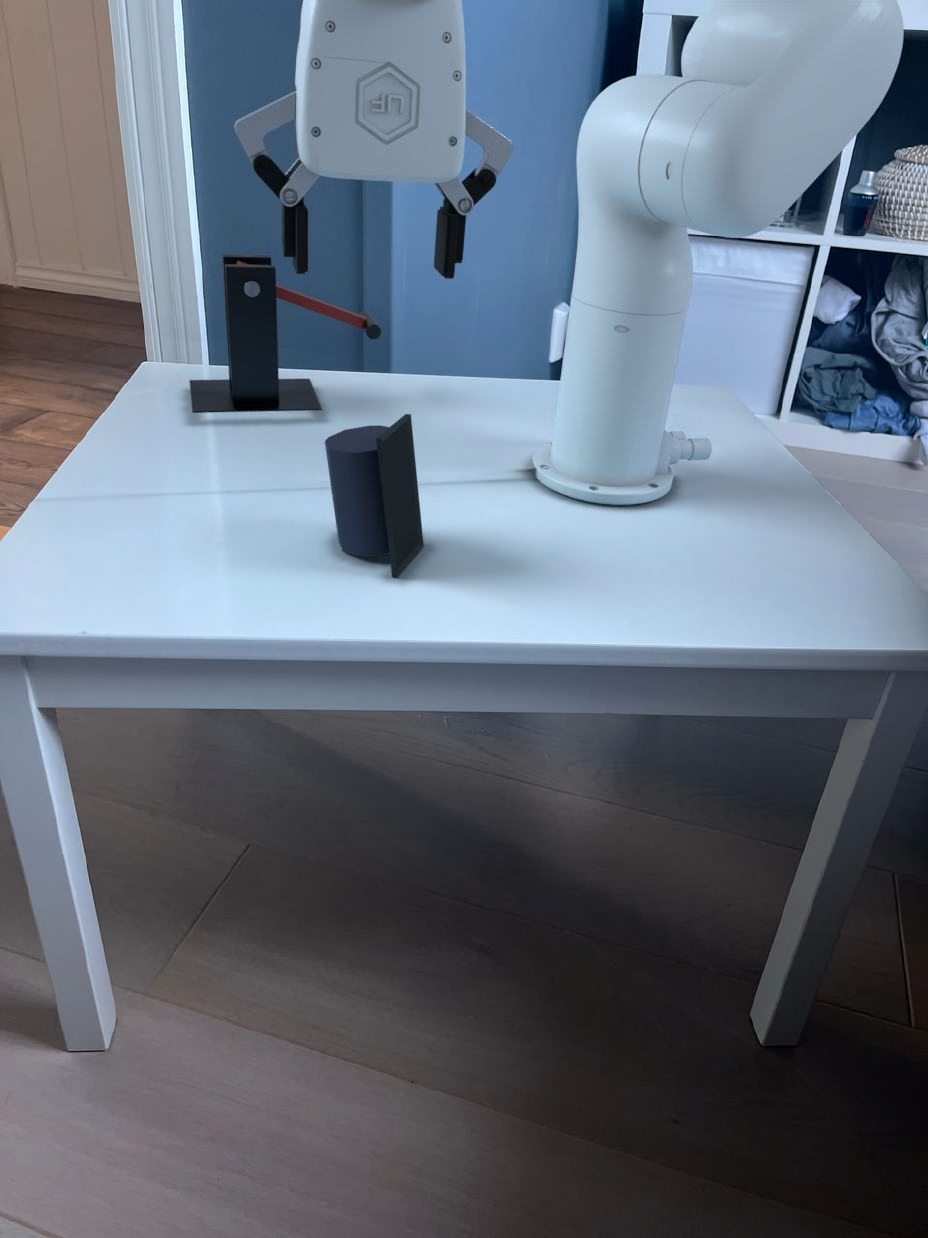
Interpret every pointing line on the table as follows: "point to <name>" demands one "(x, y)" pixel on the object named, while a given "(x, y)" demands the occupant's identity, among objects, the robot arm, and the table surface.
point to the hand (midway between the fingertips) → (373, 271)
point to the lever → (329, 310)
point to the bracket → (251, 347)
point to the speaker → (376, 492)
